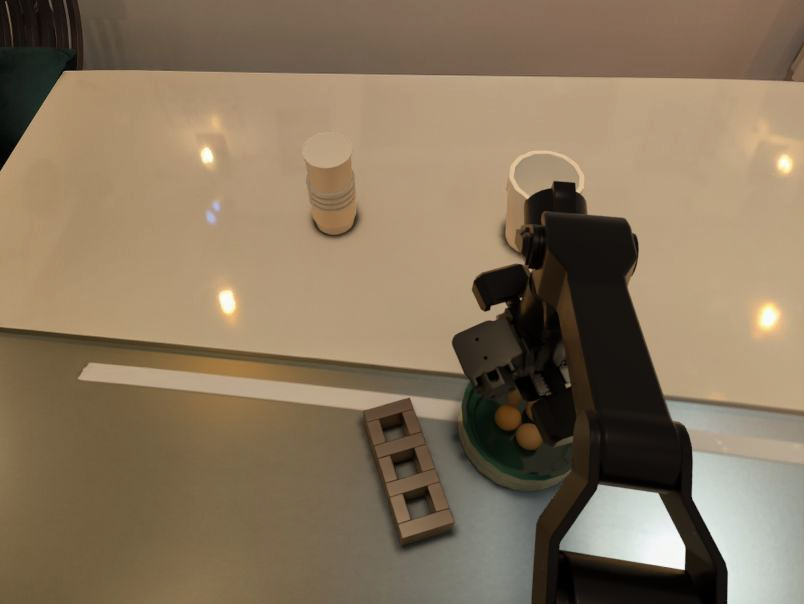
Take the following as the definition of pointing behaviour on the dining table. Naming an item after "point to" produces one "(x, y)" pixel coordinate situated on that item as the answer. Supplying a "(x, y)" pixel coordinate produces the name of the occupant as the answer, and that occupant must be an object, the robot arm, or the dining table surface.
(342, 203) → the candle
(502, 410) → the bead
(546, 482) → the bowl
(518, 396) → the stick
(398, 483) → the rack
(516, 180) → the foam cup
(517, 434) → the bead
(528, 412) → the bead
